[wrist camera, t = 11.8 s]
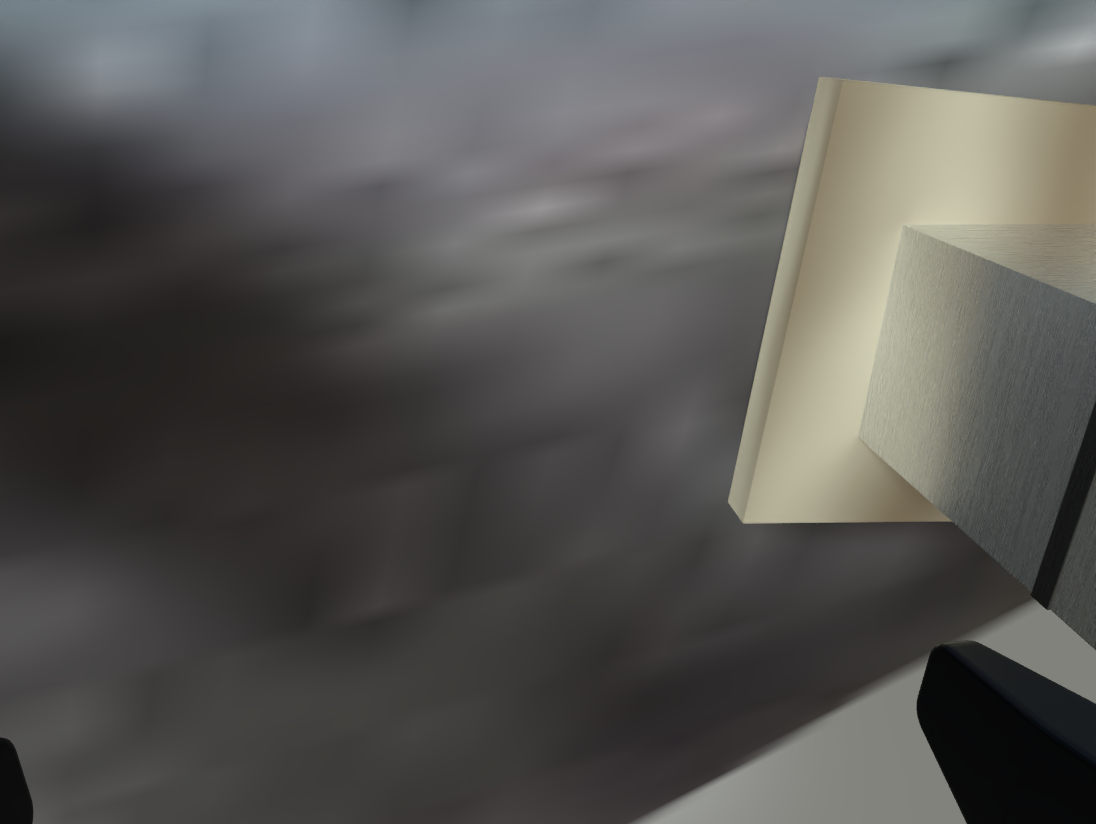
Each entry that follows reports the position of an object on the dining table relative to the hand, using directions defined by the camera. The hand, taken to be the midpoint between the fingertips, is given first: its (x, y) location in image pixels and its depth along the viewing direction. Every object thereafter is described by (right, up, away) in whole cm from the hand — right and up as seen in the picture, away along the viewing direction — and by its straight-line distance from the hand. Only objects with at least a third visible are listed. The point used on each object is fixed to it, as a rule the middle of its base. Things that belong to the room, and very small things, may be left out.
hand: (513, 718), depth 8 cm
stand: (+10, +6, +14) cm, 18 cm away
